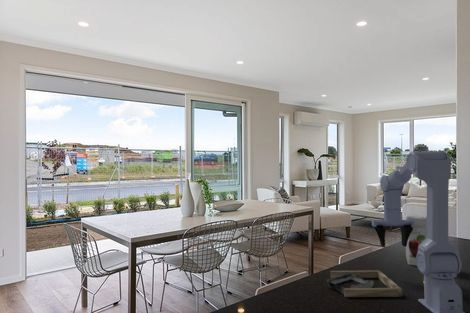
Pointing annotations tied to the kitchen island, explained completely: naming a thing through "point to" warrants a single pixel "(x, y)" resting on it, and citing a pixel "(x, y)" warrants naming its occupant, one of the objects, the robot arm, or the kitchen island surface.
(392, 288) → the oak box frame
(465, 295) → the kitchen island surface
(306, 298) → the kitchen island surface
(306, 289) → the kitchen island surface
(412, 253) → the juice carton
